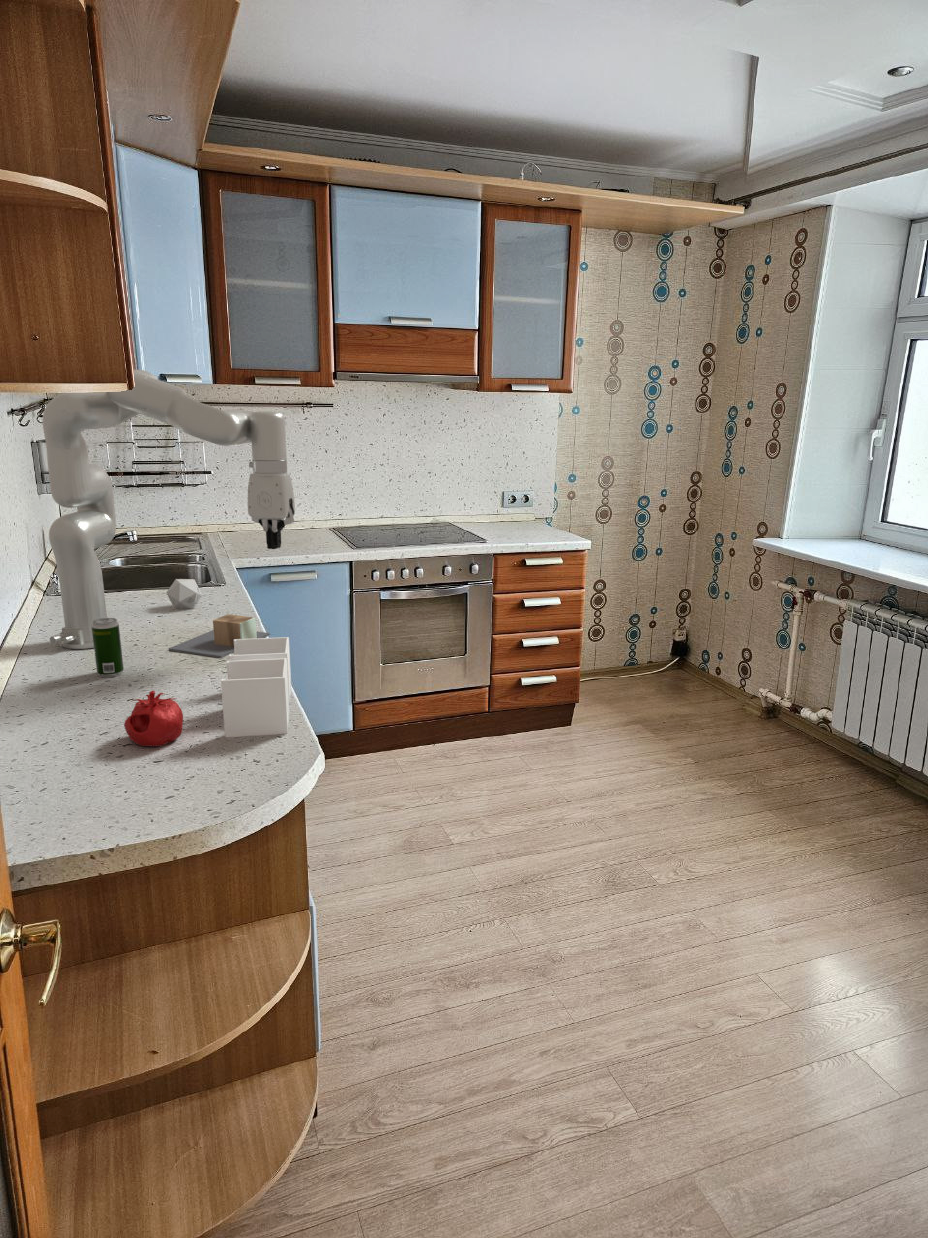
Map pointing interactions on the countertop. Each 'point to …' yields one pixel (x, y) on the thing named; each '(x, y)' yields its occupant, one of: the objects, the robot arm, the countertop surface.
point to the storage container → (257, 688)
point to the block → (233, 629)
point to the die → (184, 594)
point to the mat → (207, 645)
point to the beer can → (107, 647)
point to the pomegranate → (154, 721)
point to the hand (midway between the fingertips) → (274, 547)
